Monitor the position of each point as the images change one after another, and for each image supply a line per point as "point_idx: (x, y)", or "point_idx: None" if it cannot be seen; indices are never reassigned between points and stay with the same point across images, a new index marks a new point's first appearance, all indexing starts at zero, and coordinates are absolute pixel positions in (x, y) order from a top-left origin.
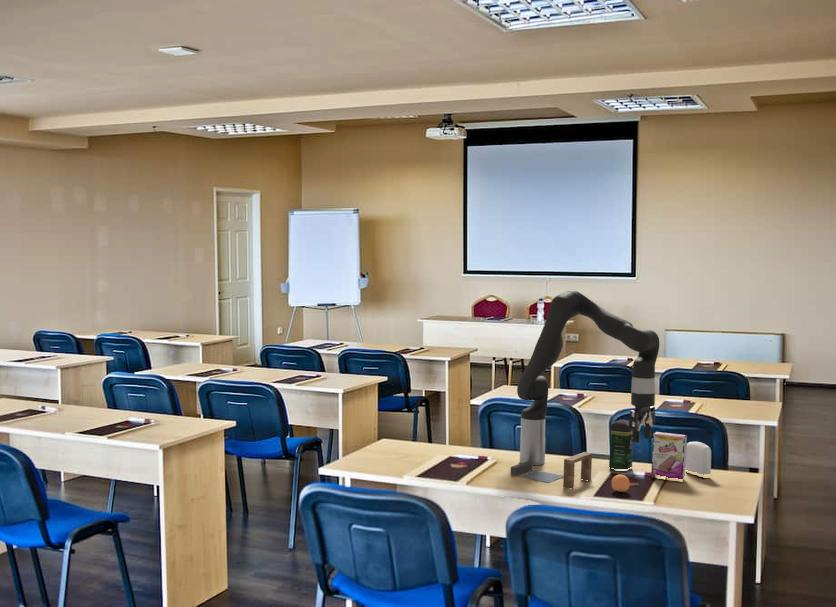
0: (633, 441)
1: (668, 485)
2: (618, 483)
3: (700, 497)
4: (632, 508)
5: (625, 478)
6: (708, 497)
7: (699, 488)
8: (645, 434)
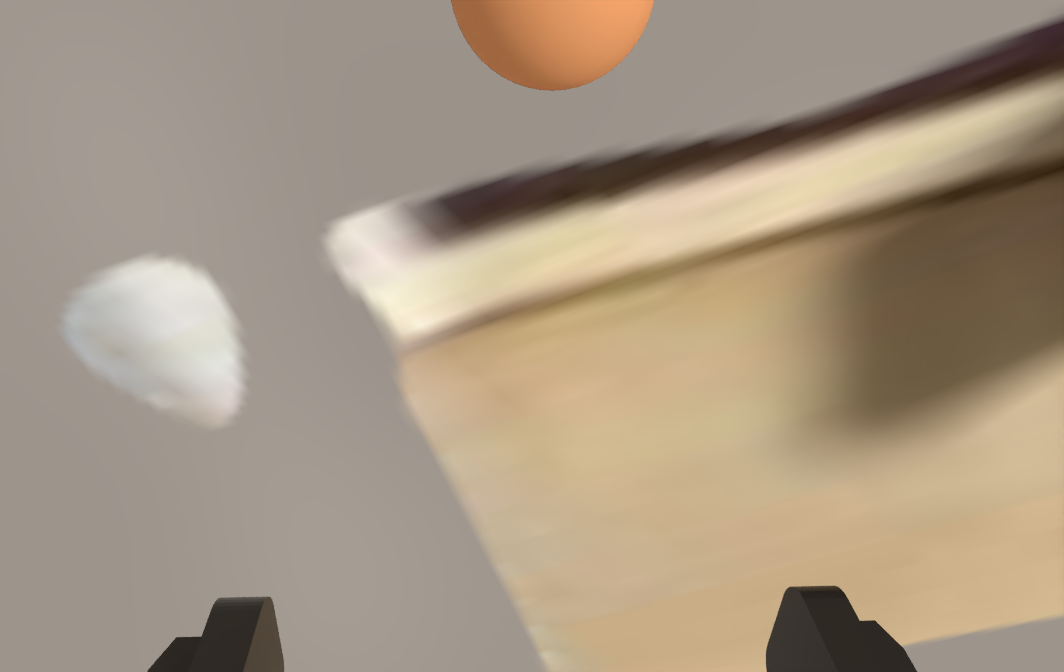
0: (221, 610)
1: (1039, 215)
2: (455, 4)
3: (792, 482)
4: (156, 281)
5: (536, 68)
6: (820, 511)
7: (1039, 405)
8: (813, 666)
